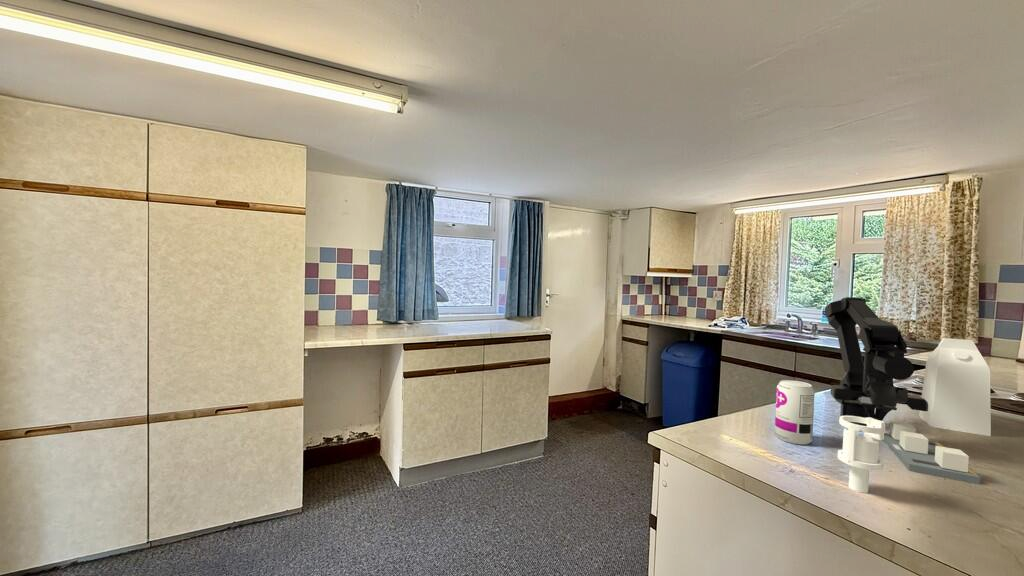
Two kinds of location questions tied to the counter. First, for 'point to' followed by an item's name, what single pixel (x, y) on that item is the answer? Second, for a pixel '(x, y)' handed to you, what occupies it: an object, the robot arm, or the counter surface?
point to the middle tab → (913, 442)
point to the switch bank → (927, 461)
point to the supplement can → (794, 412)
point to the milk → (957, 388)
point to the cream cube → (900, 429)
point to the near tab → (951, 458)
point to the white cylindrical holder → (861, 449)
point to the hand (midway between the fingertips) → (874, 429)
